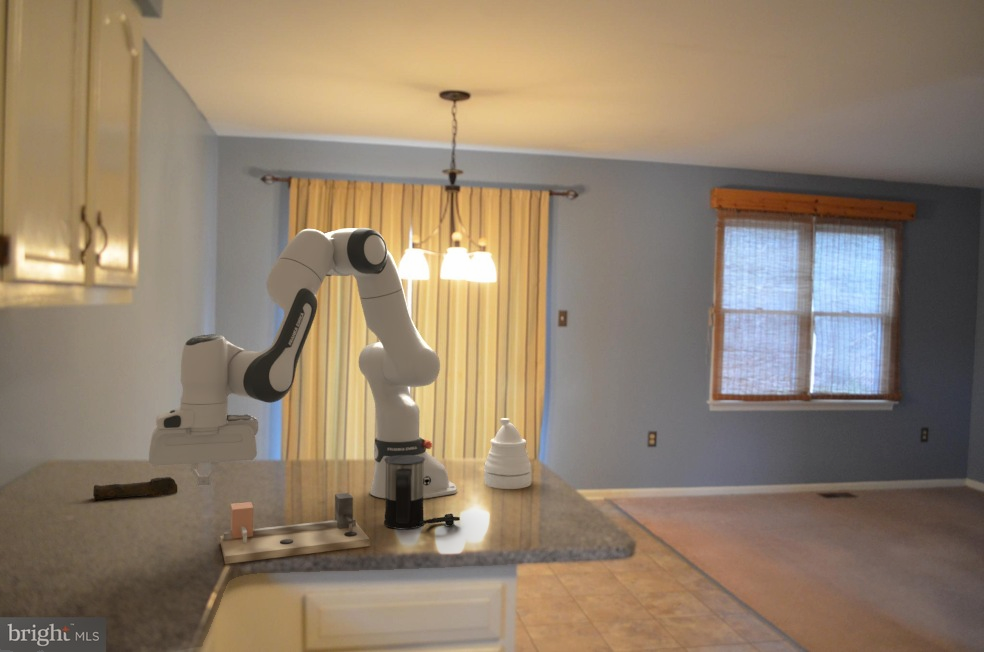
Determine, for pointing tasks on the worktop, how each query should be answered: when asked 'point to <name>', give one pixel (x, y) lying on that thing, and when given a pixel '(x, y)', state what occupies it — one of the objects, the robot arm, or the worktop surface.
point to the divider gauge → (298, 537)
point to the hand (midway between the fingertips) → (203, 484)
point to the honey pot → (507, 459)
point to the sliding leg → (242, 520)
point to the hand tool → (136, 489)
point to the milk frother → (407, 493)
